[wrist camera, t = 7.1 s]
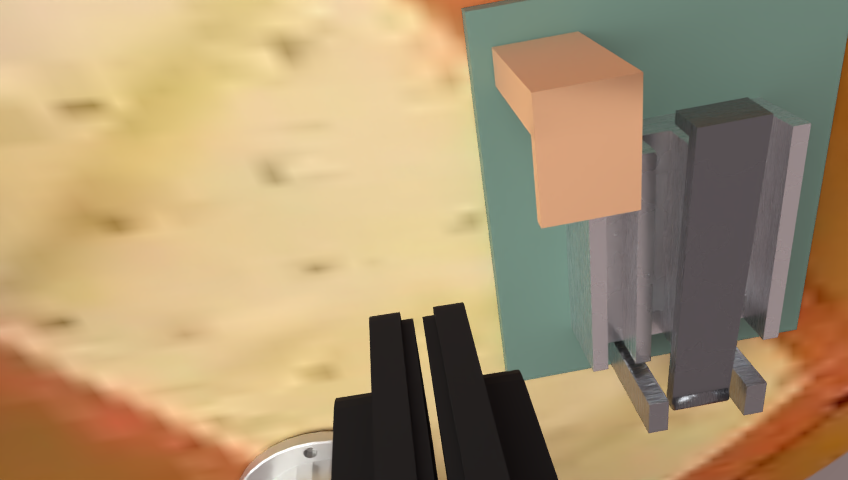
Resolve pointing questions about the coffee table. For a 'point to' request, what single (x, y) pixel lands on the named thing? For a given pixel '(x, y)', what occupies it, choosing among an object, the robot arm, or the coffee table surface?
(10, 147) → the coffee table surface
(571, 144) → the bracket
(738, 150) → the strap
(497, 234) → the circuit board
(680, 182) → the heatsink
